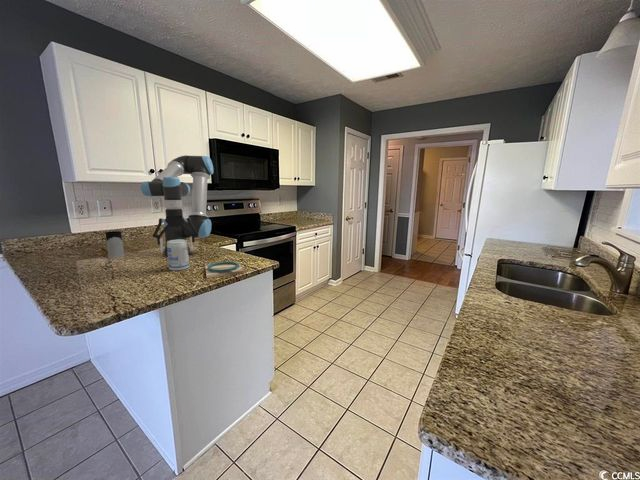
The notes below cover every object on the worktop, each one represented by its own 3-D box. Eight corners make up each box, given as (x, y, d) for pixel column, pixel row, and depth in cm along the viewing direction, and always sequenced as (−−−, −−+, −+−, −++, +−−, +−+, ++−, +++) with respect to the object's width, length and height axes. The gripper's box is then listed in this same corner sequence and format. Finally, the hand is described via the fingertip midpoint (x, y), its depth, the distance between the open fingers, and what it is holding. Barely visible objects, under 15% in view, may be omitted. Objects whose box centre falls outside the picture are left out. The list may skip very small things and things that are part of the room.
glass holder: (108, 259, 154) (104, 233, 151) (106, 254, 165) (103, 230, 162) (126, 256, 160) (123, 232, 157) (123, 252, 170) (120, 229, 167)
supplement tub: (165, 271, 133) (162, 242, 131) (174, 265, 143) (172, 239, 140) (184, 271, 134) (182, 242, 131) (192, 265, 143) (190, 239, 140)
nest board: (205, 267, 140) (205, 262, 139) (238, 264, 147) (238, 259, 146) (206, 278, 124) (206, 272, 123) (243, 273, 131) (243, 268, 130)
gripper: (143, 209, 124) (147, 253, 127) (201, 208, 134) (203, 249, 138) (145, 208, 130) (150, 250, 134) (200, 207, 141) (203, 246, 144)
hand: (177, 249), depth 136 cm, fingers open, 13 cm apart
